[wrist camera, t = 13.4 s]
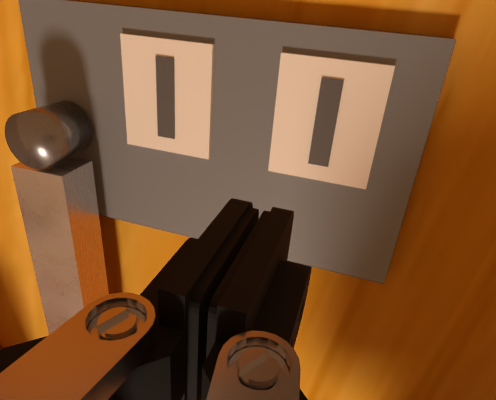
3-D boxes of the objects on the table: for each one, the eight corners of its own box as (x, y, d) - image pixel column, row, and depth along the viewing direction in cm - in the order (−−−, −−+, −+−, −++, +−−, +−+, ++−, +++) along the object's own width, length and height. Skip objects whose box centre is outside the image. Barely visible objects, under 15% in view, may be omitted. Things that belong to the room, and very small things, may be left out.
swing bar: (85, 344, 38) (57, 376, 35) (42, 97, 27) (-4, 109, 24) (121, 356, 37) (96, 389, 34) (91, 104, 27) (51, 117, 23)
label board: (383, 275, 27) (383, 287, 26) (61, 198, 33) (49, 205, 32) (453, 38, 20) (457, 40, 19) (29, -4, 26) (12, -5, 25)
